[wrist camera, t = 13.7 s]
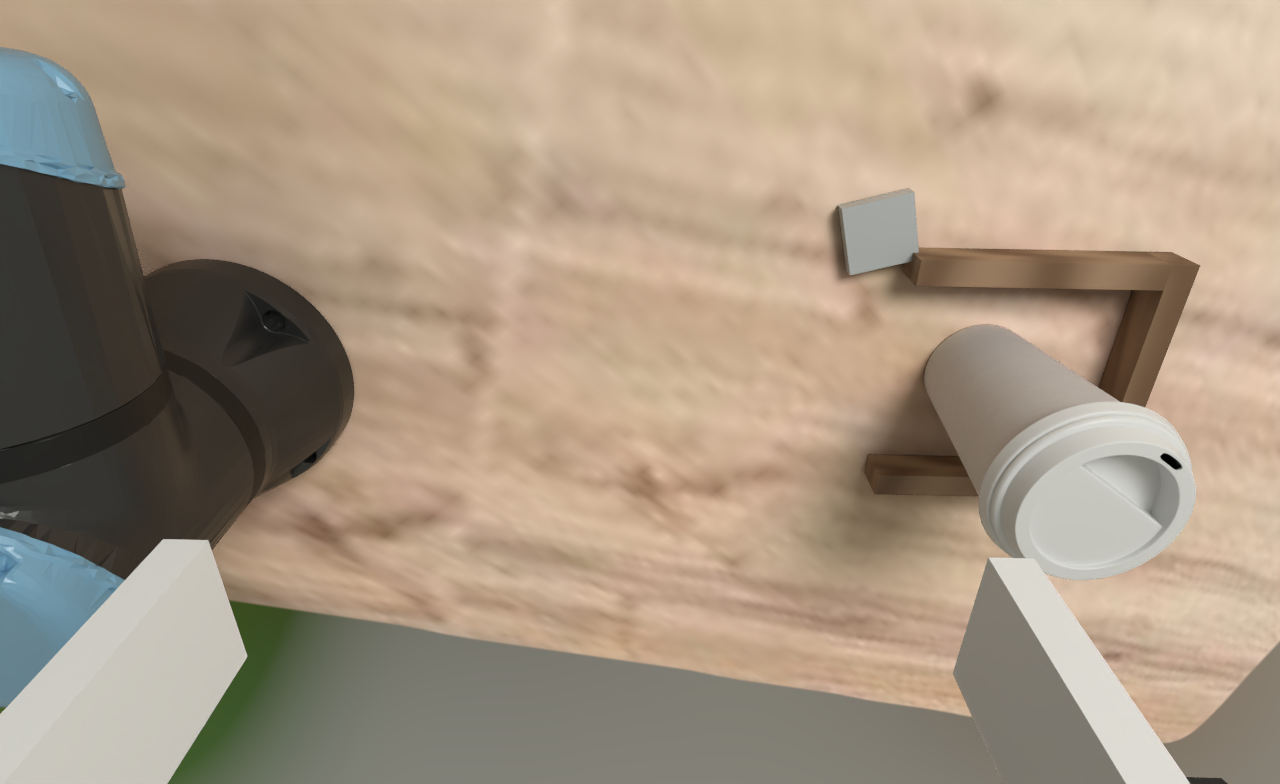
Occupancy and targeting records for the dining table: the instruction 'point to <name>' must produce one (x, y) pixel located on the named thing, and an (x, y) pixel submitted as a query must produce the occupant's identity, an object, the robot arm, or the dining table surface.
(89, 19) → the dining table surface
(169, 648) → the robot arm
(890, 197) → the slate tile
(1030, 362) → the coffee cup
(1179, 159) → the dining table surface
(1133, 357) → the bracket
